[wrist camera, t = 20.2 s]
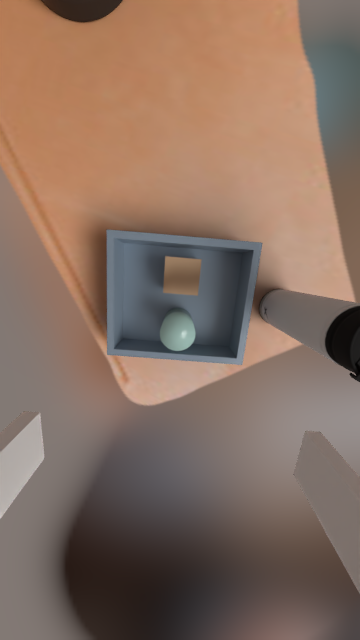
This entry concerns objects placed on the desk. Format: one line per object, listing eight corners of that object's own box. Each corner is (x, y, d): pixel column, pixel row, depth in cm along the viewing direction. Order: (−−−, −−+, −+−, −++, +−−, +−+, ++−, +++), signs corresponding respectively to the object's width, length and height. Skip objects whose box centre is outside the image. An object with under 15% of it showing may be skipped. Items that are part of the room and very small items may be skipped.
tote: (119, 236, 33) (106, 229, 27) (248, 247, 33) (262, 242, 27) (118, 341, 37) (107, 354, 31) (232, 350, 37) (242, 364, 32)
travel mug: (250, 315, 36) (333, 367, 16) (272, 282, 35) (391, 296, 15) (279, 331, 37) (391, 400, 17) (302, 300, 35) (451, 336, 16)
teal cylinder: (159, 312, 35) (154, 323, 28) (187, 303, 34) (189, 311, 28) (169, 339, 36) (166, 355, 29) (196, 330, 36) (199, 344, 29)
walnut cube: (167, 258, 33) (165, 256, 28) (198, 261, 33) (201, 259, 28) (165, 289, 34) (163, 292, 29) (195, 292, 34) (197, 295, 29)
